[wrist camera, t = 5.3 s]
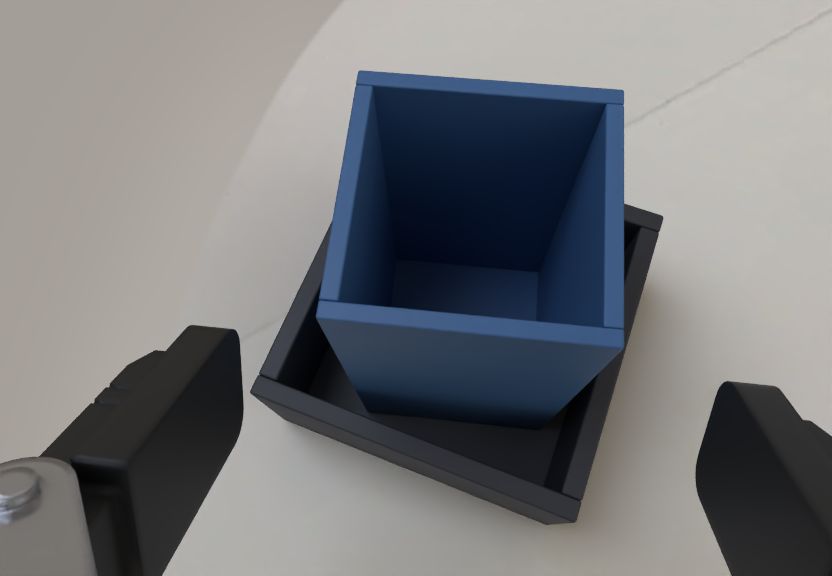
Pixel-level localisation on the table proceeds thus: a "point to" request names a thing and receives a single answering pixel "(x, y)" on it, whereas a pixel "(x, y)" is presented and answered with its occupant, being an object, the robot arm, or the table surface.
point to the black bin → (451, 440)
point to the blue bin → (476, 247)
